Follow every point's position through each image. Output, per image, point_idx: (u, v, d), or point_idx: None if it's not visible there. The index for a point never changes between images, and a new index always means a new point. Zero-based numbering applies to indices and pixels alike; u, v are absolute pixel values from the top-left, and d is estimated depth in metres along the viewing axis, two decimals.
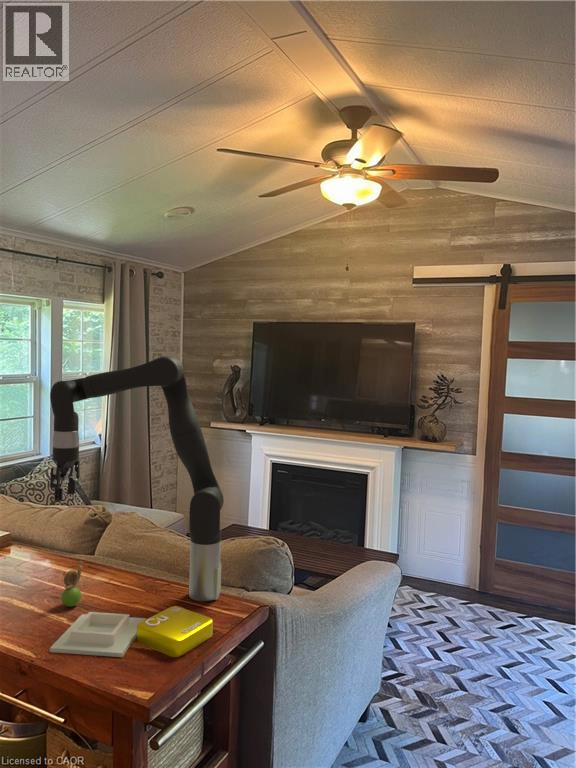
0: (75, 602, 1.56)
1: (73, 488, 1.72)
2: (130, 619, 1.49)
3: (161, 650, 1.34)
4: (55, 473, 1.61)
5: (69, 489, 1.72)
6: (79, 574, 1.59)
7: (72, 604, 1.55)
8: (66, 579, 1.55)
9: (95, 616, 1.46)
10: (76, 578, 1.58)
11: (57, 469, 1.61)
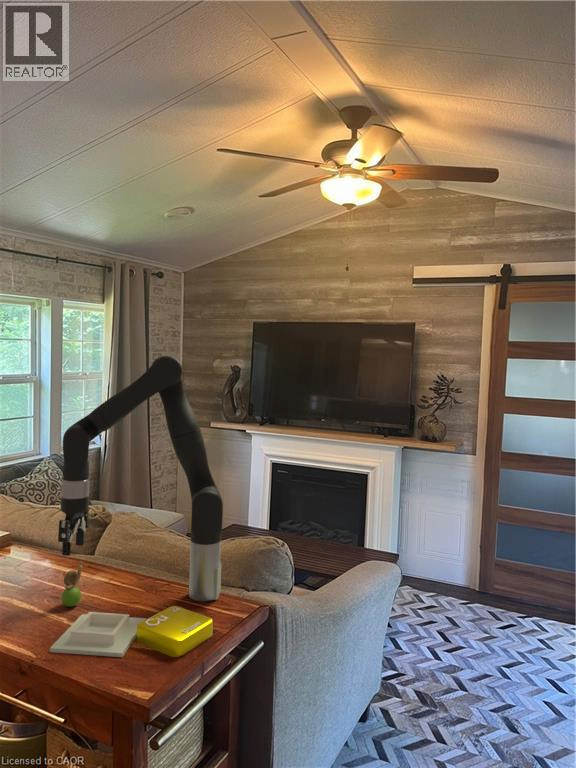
0: (75, 602, 1.56)
1: (82, 539, 1.61)
2: (130, 619, 1.49)
3: (161, 650, 1.34)
4: (64, 526, 1.50)
5: (77, 540, 1.61)
6: (79, 574, 1.59)
7: (72, 604, 1.55)
8: (66, 579, 1.55)
9: (95, 616, 1.46)
10: (76, 578, 1.58)
11: (66, 522, 1.50)
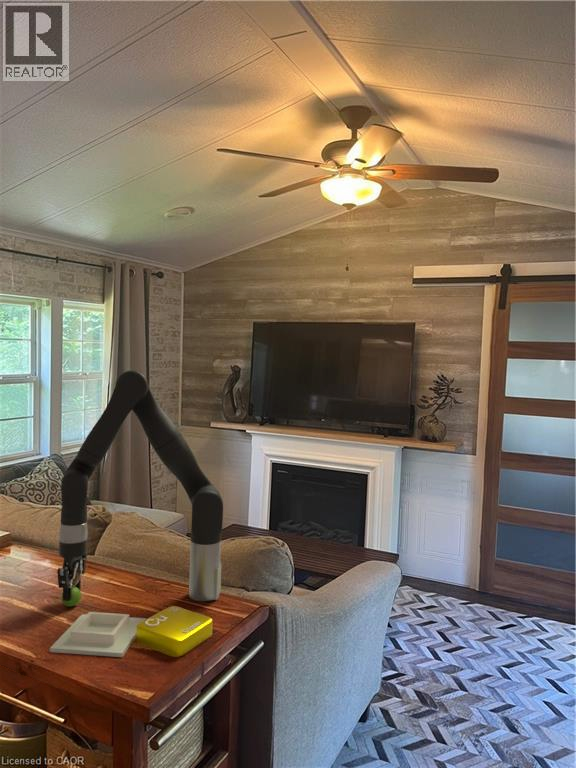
0: (75, 602, 1.56)
1: (78, 585, 1.60)
2: (130, 619, 1.49)
3: (162, 650, 1.34)
4: (62, 575, 1.51)
5: None
6: (79, 574, 1.59)
7: (72, 604, 1.56)
8: None
9: (95, 616, 1.46)
10: (76, 578, 1.58)
11: (64, 571, 1.50)
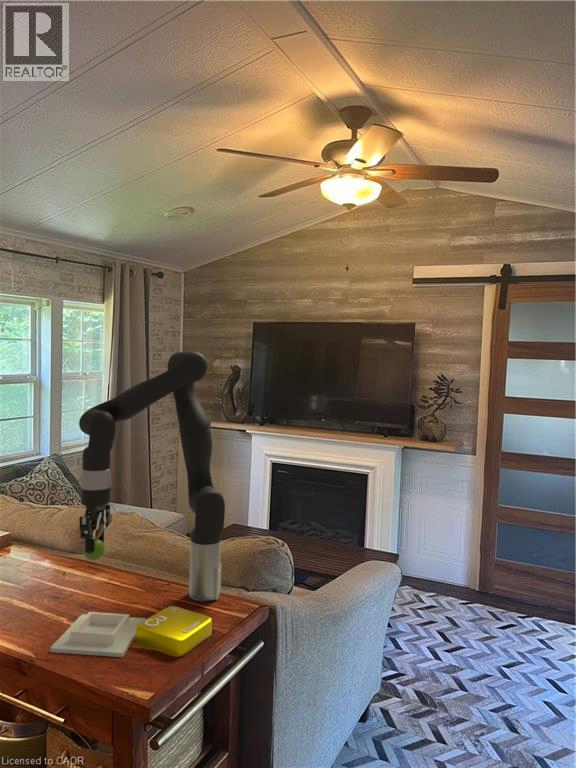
0: (98, 555, 1.43)
1: (101, 538, 1.47)
2: (130, 619, 1.49)
3: (162, 650, 1.34)
4: (85, 524, 1.38)
5: None
6: (102, 525, 1.46)
7: (95, 557, 1.43)
8: None
9: (95, 616, 1.46)
10: (99, 529, 1.45)
11: (86, 519, 1.38)
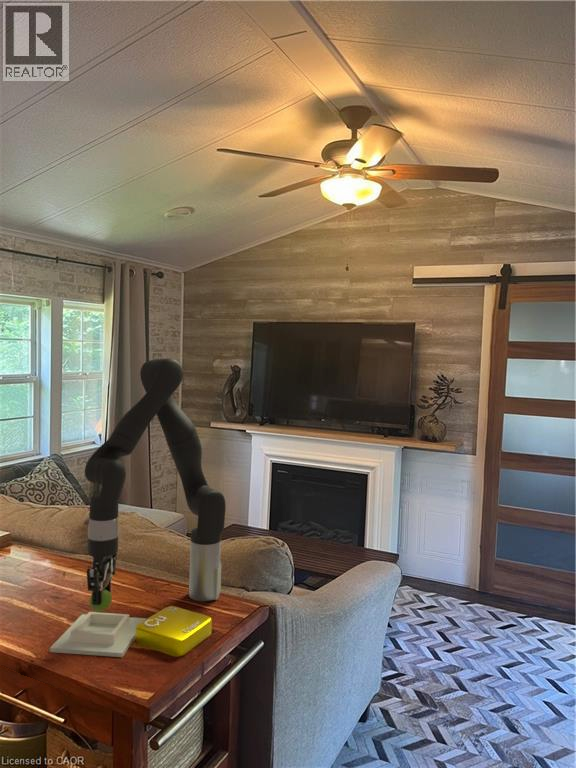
0: (105, 606, 1.39)
1: (108, 588, 1.43)
2: (130, 619, 1.49)
3: (163, 650, 1.34)
4: (92, 576, 1.34)
5: None
6: (109, 575, 1.43)
7: (102, 609, 1.39)
8: None
9: (95, 616, 1.46)
10: (106, 579, 1.41)
11: (94, 572, 1.34)
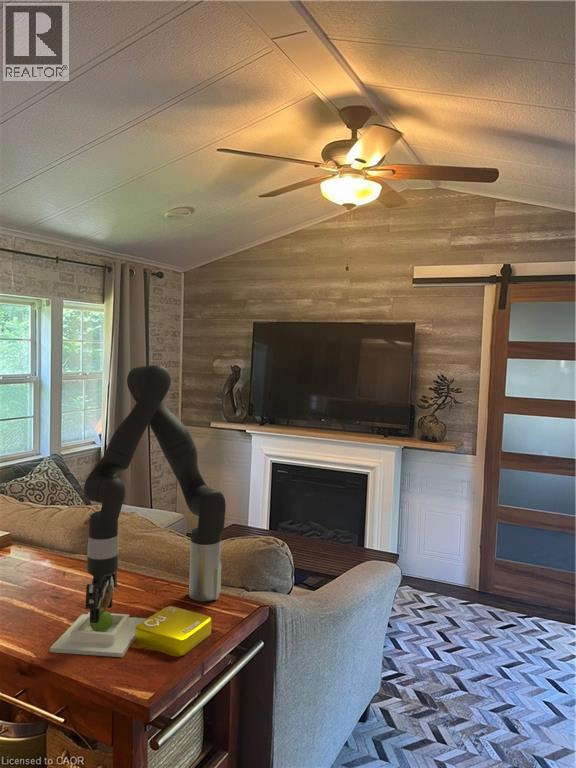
0: (106, 627, 1.40)
1: None
2: (130, 619, 1.49)
3: (163, 650, 1.34)
4: (92, 592, 1.34)
5: None
6: (110, 596, 1.43)
7: (103, 630, 1.40)
8: None
9: None
10: (107, 600, 1.42)
11: (94, 587, 1.34)
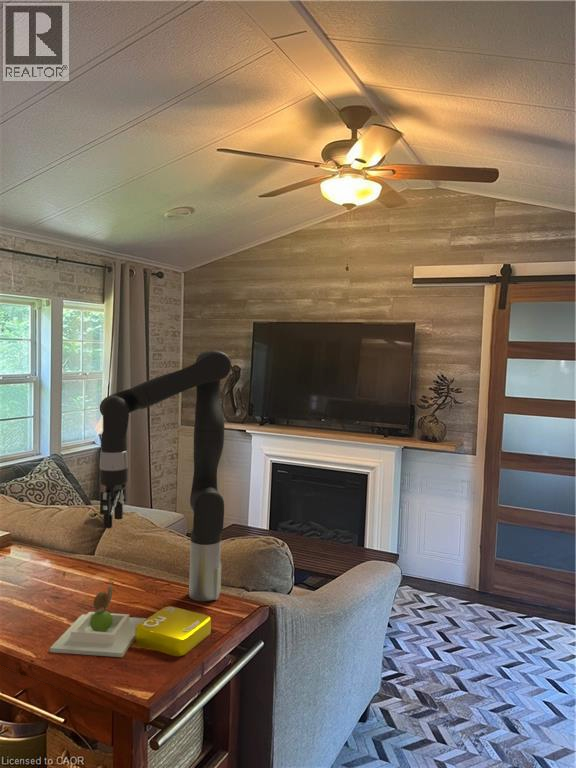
0: (106, 627, 1.40)
1: (120, 512, 1.58)
2: (130, 619, 1.49)
3: (164, 650, 1.34)
4: (105, 498, 1.47)
5: (116, 514, 1.58)
6: (110, 596, 1.43)
7: (103, 630, 1.40)
8: (96, 602, 1.39)
9: None
10: (107, 600, 1.42)
11: (107, 494, 1.47)
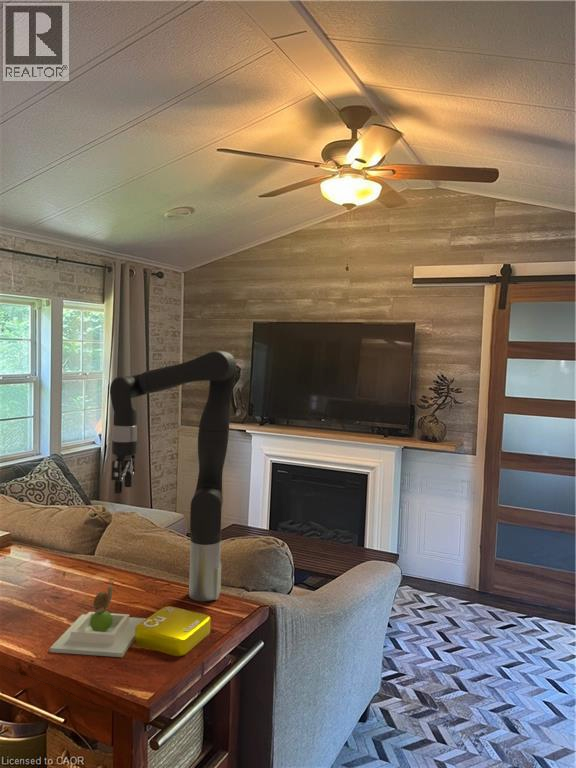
0: (106, 627, 1.40)
1: (130, 481, 1.77)
2: (130, 619, 1.49)
3: (164, 650, 1.34)
4: (116, 466, 1.66)
5: (126, 482, 1.77)
6: (110, 596, 1.43)
7: (103, 630, 1.40)
8: (96, 602, 1.39)
9: None
10: (107, 600, 1.42)
11: (118, 462, 1.66)
